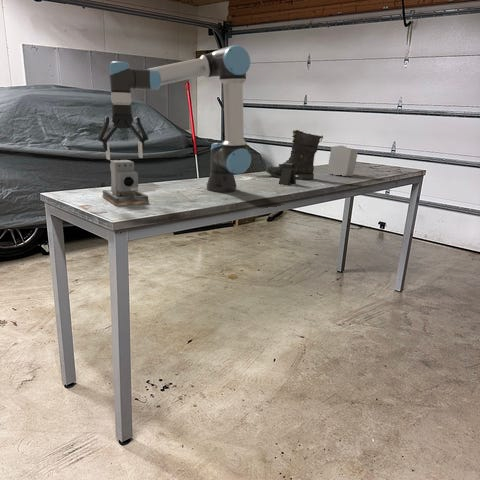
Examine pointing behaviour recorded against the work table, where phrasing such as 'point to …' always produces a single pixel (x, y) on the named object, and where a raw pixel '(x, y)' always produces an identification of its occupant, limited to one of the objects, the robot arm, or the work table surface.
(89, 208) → the work table surface
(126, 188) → the circuit breaker
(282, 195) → the work table surface
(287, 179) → the door stopper
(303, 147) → the boot
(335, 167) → the electrical switch box
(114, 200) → the track
